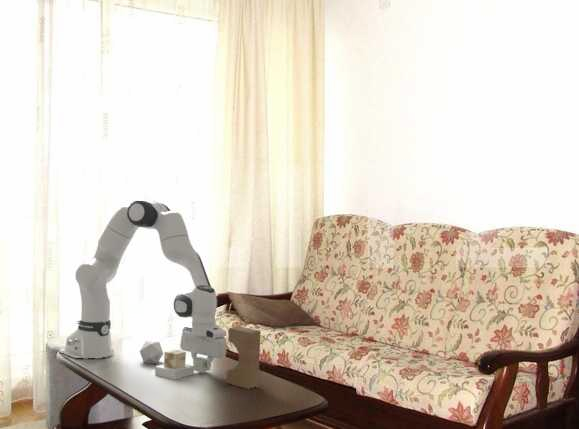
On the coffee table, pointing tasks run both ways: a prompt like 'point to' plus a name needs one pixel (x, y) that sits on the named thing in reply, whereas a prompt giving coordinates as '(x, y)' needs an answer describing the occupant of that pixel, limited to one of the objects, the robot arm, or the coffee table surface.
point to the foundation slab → (174, 371)
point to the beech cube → (174, 359)
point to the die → (151, 352)
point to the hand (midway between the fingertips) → (201, 365)
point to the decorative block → (245, 357)
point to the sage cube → (200, 364)
